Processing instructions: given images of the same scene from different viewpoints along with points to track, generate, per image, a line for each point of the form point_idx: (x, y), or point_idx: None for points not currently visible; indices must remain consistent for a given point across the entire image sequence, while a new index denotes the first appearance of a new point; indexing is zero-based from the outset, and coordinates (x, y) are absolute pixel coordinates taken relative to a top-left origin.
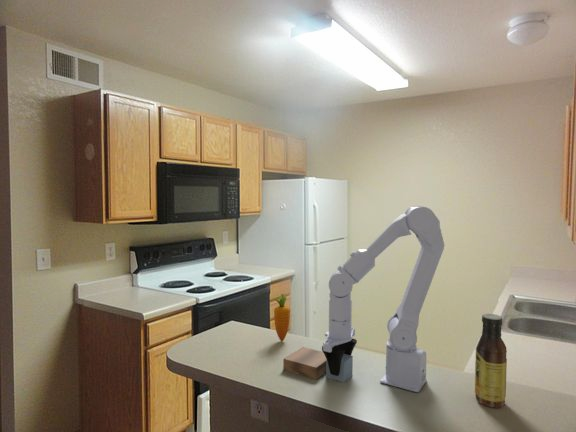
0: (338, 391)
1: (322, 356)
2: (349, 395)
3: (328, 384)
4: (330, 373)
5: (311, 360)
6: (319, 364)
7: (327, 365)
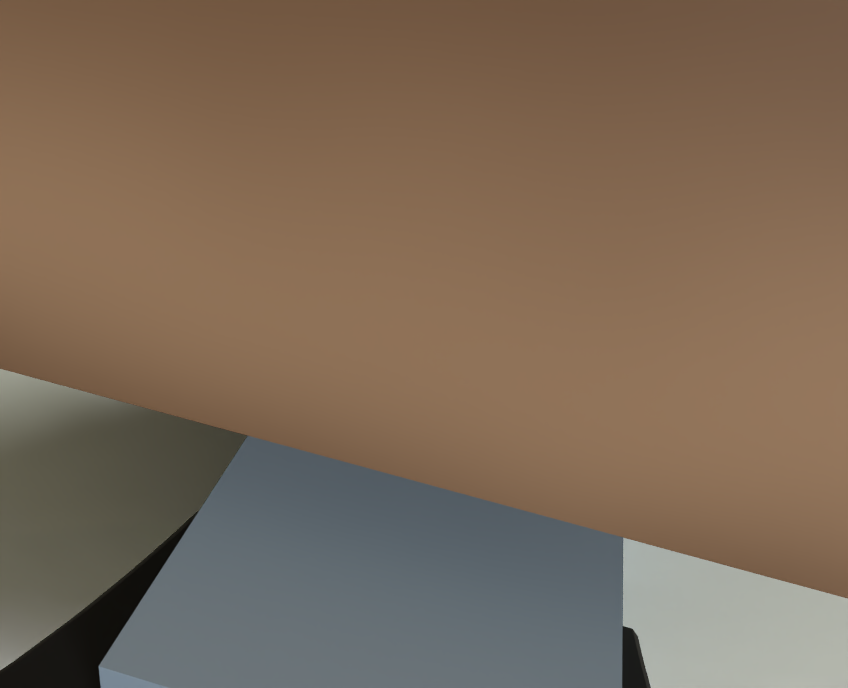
0: (18, 559)
1: (694, 370)
2: (21, 650)
3: (94, 440)
4: (192, 516)
5: (272, 134)
6: (159, 389)
7: (184, 549)
